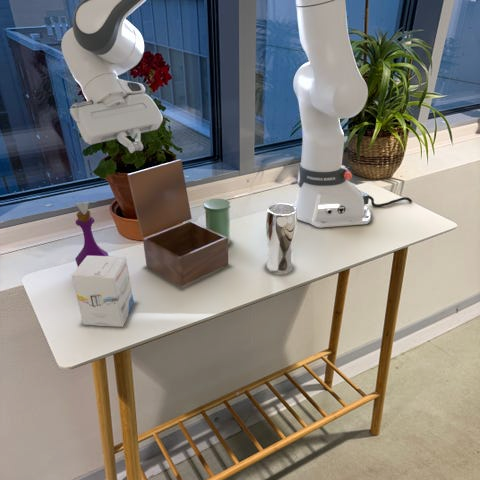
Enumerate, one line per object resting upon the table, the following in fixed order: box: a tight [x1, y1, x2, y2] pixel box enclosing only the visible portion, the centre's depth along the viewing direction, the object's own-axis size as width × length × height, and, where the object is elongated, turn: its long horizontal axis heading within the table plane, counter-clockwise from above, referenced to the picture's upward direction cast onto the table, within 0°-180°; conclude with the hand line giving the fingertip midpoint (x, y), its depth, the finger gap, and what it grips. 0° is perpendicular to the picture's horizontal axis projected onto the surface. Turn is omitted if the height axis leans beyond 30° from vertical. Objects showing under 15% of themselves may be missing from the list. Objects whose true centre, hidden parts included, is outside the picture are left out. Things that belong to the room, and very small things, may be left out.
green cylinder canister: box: [203, 198, 231, 245], centre depth 123 cm, size 7×7×11 cm
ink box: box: [71, 255, 135, 328], centre depth 97 cm, size 9×8×12 cm
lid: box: [126, 159, 193, 238], centre depth 112 cm, size 14×14×1 cm
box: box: [142, 220, 229, 287], centre depth 114 cm, size 13×14×8 cm
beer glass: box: [265, 203, 298, 276], centre depth 112 cm, size 7×7×15 cm
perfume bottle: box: [74, 201, 110, 267], centre depth 109 cm, size 8×8×18 cm
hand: (137, 150), depth 111 cm, fingers closed
